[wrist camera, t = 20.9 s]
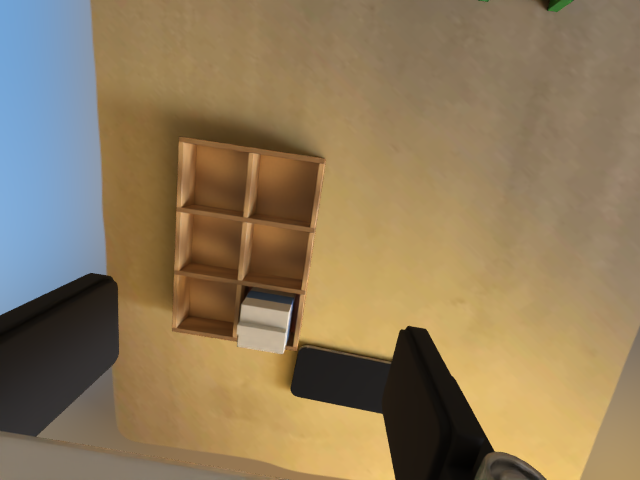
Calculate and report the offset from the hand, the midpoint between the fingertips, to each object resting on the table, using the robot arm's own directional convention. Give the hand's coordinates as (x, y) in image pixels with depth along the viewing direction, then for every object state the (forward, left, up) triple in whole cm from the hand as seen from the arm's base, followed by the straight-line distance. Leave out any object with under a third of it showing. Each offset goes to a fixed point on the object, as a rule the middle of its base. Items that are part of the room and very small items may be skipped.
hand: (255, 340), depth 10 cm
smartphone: (+20, +8, -25) cm, 32 cm away
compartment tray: (+4, -6, -25) cm, 26 cm away
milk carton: (+11, -3, -24) cm, 26 cm away
